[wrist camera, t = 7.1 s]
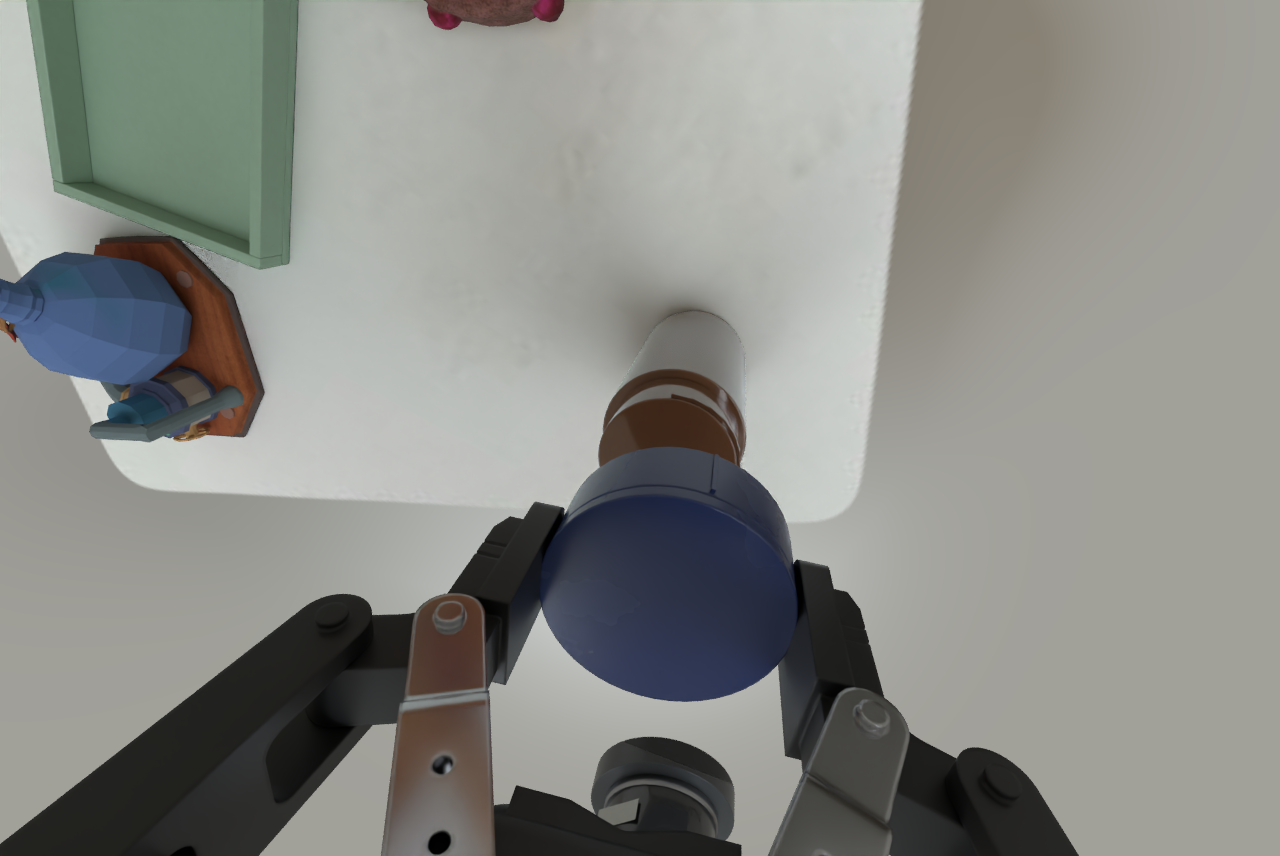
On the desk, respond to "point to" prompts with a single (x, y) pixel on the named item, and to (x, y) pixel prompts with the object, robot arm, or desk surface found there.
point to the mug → (491, 11)
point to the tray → (174, 115)
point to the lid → (672, 576)
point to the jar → (682, 392)
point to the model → (140, 337)
